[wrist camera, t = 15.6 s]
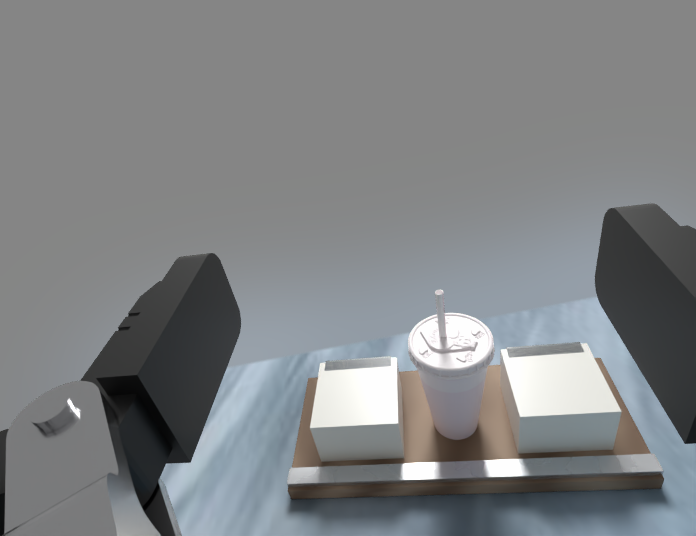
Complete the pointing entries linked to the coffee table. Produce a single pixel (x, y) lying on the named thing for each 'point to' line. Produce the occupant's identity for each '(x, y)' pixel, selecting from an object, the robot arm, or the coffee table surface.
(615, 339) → the coffee table surface
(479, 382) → the smoothie
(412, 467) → the rail board
